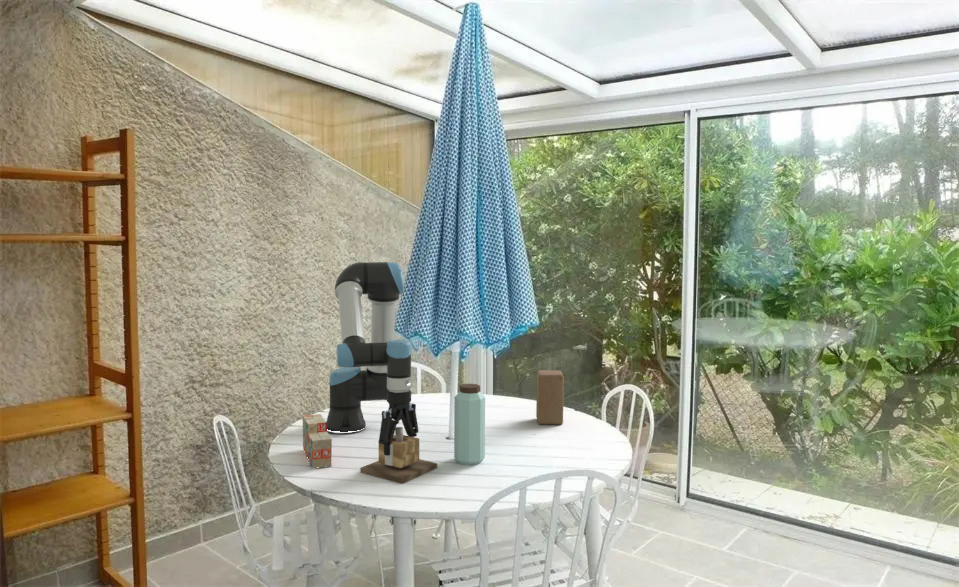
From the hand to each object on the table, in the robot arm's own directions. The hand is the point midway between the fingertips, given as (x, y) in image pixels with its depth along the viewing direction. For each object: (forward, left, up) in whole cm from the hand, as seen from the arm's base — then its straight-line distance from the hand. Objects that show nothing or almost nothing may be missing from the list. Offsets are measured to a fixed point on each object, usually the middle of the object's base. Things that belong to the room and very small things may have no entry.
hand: (399, 460), depth 214 cm
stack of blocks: (+6, -30, -3) cm, 31 cm away
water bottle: (-20, +13, -3) cm, 24 cm away
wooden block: (-78, +12, -3) cm, 79 cm away
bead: (0, 0, 0) cm, 0 cm away
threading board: (0, 0, -3) cm, 3 cm away
